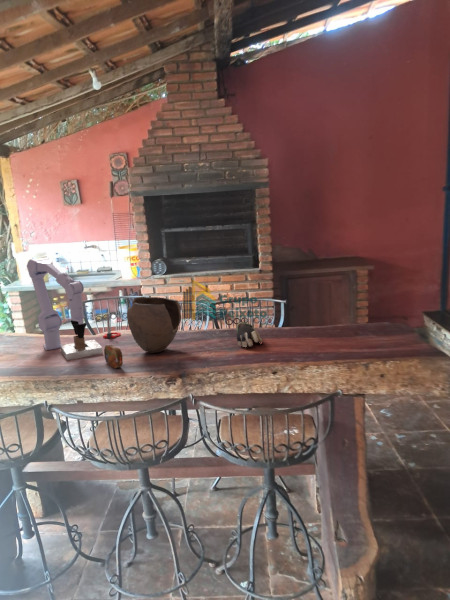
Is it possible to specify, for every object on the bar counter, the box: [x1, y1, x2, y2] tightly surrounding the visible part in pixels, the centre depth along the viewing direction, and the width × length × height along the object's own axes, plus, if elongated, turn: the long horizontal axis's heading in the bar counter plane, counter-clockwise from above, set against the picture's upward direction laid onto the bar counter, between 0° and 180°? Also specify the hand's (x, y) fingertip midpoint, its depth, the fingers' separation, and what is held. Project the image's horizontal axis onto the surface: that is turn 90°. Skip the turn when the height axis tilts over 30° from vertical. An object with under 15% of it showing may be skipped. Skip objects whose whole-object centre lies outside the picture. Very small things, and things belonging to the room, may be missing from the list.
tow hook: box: [102, 313, 122, 339], centre depth 238 cm, size 8×13×9 cm
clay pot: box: [126, 296, 182, 354], centre depth 206 cm, size 24×24×25 cm
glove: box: [236, 322, 263, 348], centre depth 215 cm, size 12×10×25 cm
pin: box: [73, 335, 86, 349], centre depth 211 cm, size 4×4×8 cm
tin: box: [103, 344, 124, 369], centre depth 191 cm, size 15×3×8 cm, turn 35°
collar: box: [60, 339, 104, 361], centre depth 212 cm, size 16×16×3 cm
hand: (79, 336), depth 211 cm, fingers open, 7 cm apart
